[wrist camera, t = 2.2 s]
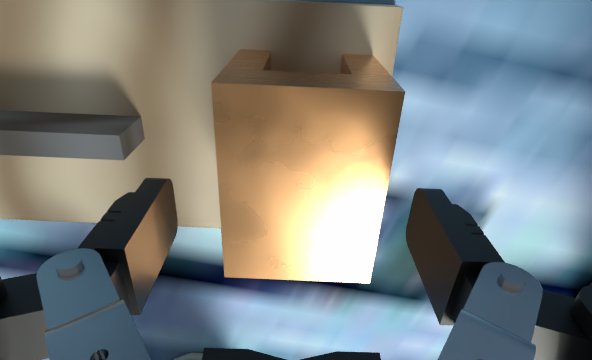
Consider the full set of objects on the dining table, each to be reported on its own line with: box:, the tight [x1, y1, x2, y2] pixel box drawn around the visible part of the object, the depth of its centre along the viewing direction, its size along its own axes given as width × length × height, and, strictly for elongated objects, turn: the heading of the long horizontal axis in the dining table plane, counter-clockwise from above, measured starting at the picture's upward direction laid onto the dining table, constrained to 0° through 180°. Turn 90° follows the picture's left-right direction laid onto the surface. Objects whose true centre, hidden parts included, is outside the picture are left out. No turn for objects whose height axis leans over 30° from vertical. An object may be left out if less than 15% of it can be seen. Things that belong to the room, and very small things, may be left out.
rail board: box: [0, 0, 403, 228], centre depth 18 cm, size 22×12×4 cm, turn 88°
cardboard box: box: [211, 49, 405, 283], centre depth 16 cm, size 8×6×6 cm
